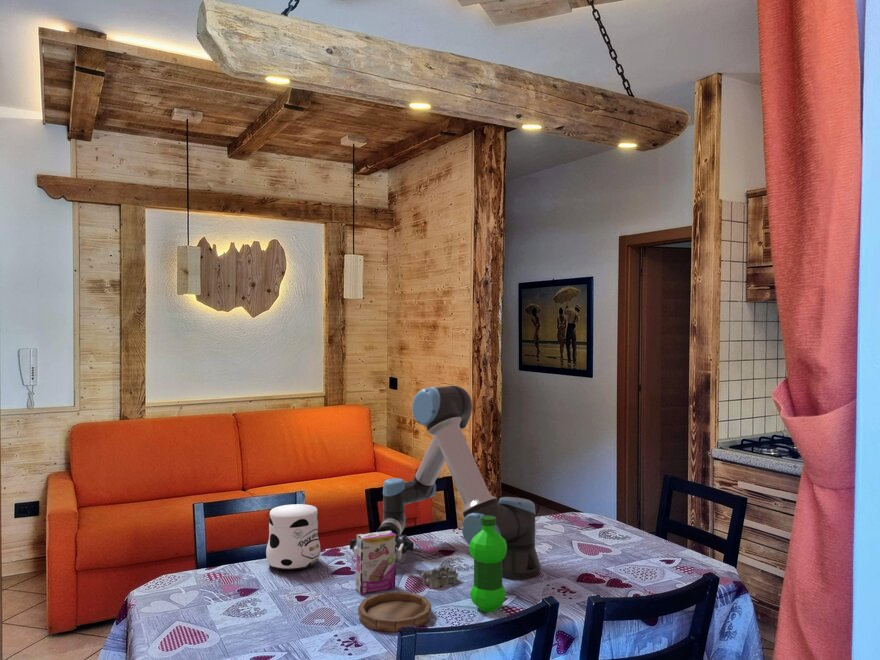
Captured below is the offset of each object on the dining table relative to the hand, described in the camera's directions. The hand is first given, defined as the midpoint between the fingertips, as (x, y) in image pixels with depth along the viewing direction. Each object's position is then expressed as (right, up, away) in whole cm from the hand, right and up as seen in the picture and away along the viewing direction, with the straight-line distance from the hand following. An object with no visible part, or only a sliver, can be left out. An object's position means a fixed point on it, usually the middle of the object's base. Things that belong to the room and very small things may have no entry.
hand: (376, 554), depth 202 cm
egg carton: (+19, -10, +2) cm, 21 cm away
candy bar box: (0, -9, -5) cm, 10 cm away
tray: (+7, -9, -23) cm, 26 cm away
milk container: (-29, -9, +16) cm, 34 cm away
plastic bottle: (+32, -9, -17) cm, 38 cm away
